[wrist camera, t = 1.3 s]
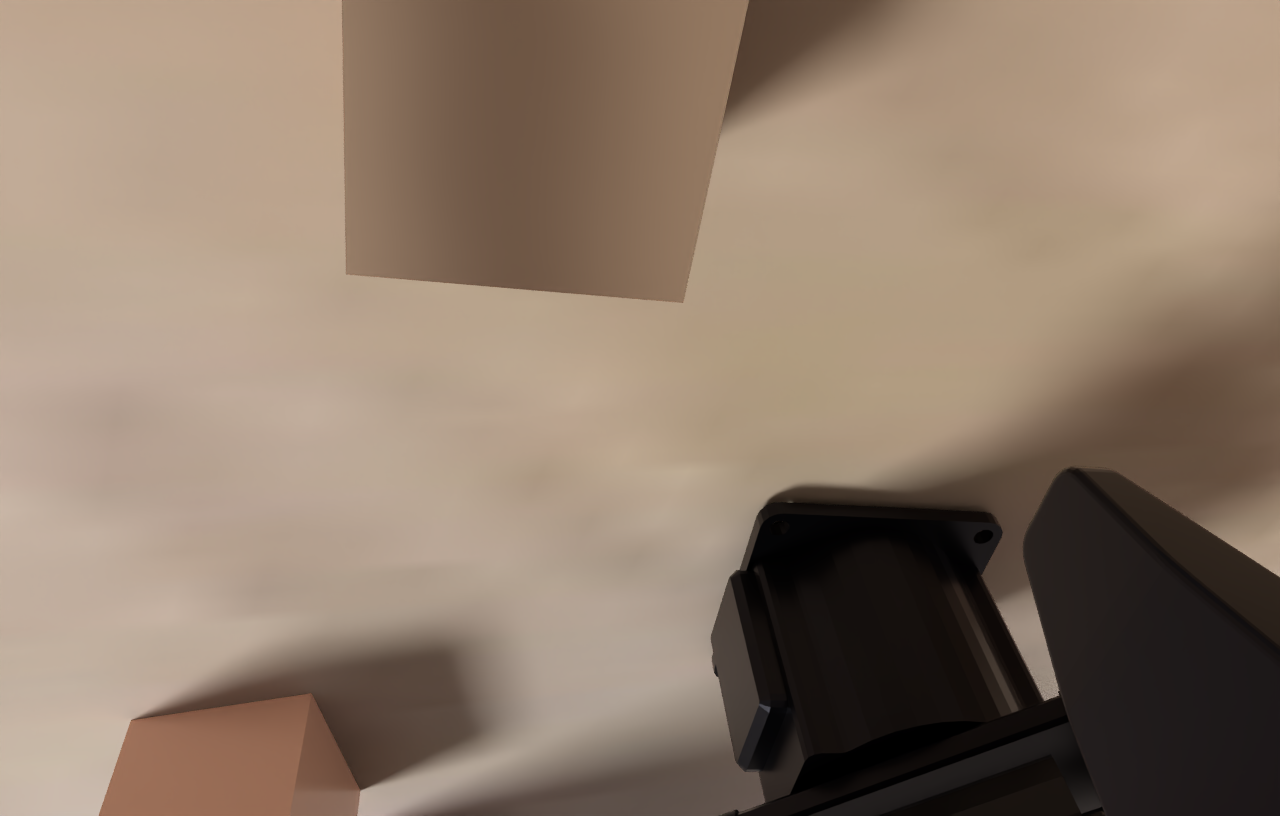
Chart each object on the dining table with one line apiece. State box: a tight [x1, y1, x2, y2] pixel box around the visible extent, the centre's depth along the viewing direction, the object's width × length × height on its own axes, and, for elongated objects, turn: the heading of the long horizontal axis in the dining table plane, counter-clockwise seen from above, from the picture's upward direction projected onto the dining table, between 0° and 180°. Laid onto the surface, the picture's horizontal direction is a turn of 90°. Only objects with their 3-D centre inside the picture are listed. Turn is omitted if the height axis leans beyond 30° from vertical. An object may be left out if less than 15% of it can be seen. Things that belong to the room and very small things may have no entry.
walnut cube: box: [342, 0, 749, 303], centre depth 15 cm, size 5×5×5 cm
